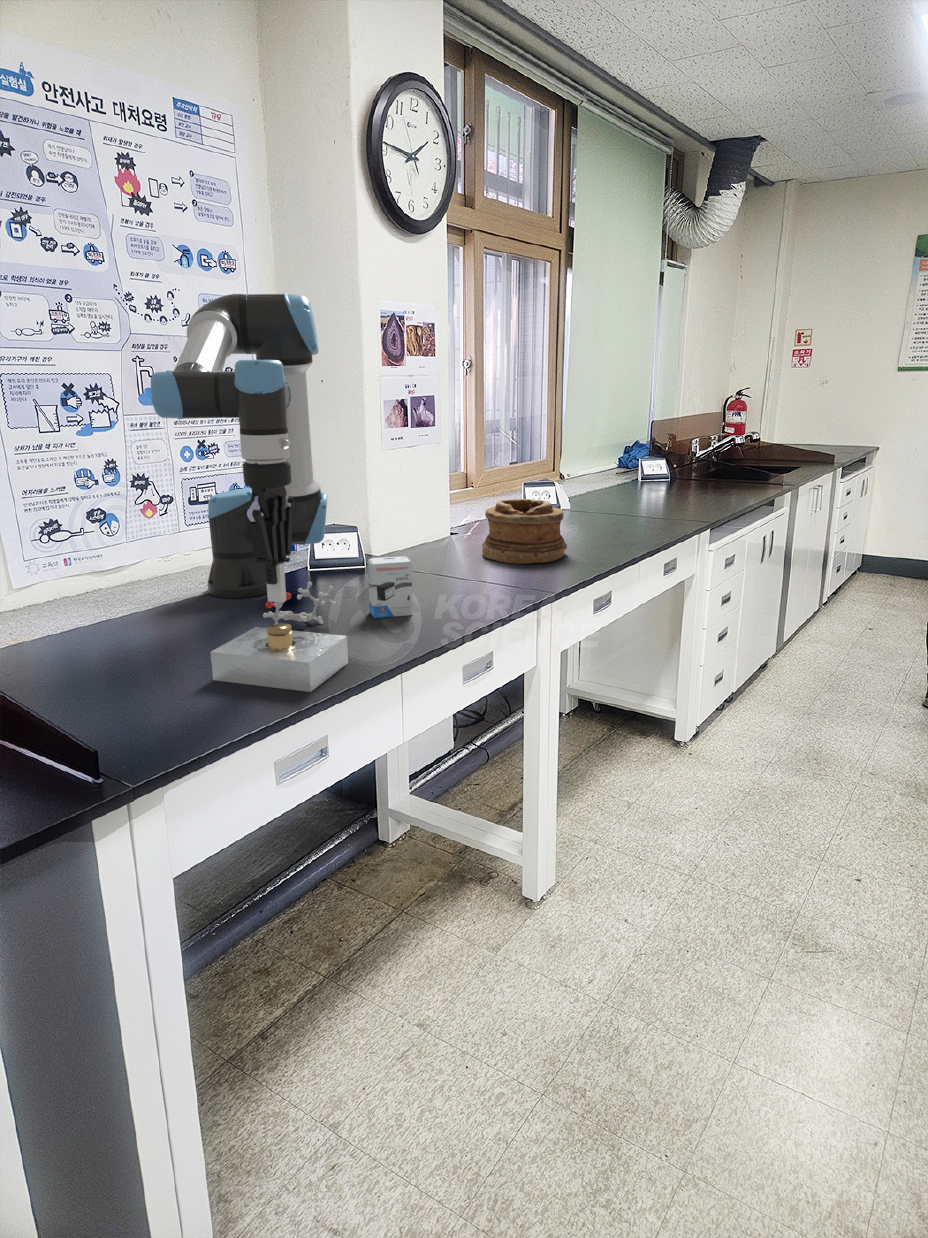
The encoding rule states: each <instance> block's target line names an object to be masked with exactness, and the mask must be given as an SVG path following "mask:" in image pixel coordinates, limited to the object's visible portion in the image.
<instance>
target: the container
mask: <svg viewBox="0 0 928 1238" xmlns="http://www.w3.org/2000/svg"><path fill="white" fill-rule="evenodd" d="M485 518H486V519H487V522H488V523H487V524H488V529H489V530H488V534H487V535H486V537H485V538H484V539H485V540H484V541H483V542H482V543H481V547H482V549H481V550H482V551H481V552H482V555H483V557H484V558H487V559H489V560H494V561H496V562H501V563H507V564H515V565H529V564H542V563H543V564H544V563H546V564H547V563H551V562H554V561H557V560H559V559H561V558H563V557H564V554H565V550H567V548H568V544H567V543H566V542H565V539H564V537H563V536H562V535H561V522H562V521H563V519H564V510H563V509H561V508H558V507H556V506H553V505H552V503H551V502H550V501H546V500H541V499H540V500H539V499H530V498H511V499H502V500H500V501H497V502H496V504H495V506H492V507H489V508H486V510H485Z"/></svg>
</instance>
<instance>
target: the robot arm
mask: <svg viewBox="0 0 928 1238" xmlns="http://www.w3.org/2000/svg"><path fill="white" fill-rule="evenodd" d="M186 339H187V340H186V342H185V344H184V347H183V349H182V351H181V354H180V356H179V359H178V360H177V363H176V364H175V368H174V369H173V370H166V371H156V372H154V373H152V376H151V379H150V396H151V402H152V406H153V410H154V412H155V414H157V416H158V417H160V418H162V419H177V420H183V419H188V420H189V419H221V418H223V419H226V418H227V419H228V418H229V419H237V418H238V422H239V442H240V455H241V457H240V458H241V459H243V460H245V461H244V462H243V464H242V472H243V473H242V474H243V476H242V477H243V483H244V485H245V486H247V487H246V488H245V487H244V488H238V489H233V490H227V491H223V492H219V493H216V494H214V495H212V496H211V497H210V498H209V499H208V503H207V508H208V509H207V510H208V512H207V513H208V515H207V519H208V522H209V523H208V524H209V525H208V526H209V531H210V533H209V534H210V542H211V552H212V562H211V566H210V570H209V576H208V579H207V593H208V594H209V595H211V596H213V597H218V598H224V599H240V598H242V599H243V598H250V597H252V598H253V597H257V596H263V595H265V594H267V601H271V602H272V603H275V602H281V603H282V602H284V601H285V602H286V601H287V600H286V593H287V591H286V590H287V589H286V587H287V586H286V575H285V563H289V562H290V561H291V557H287V556H291V554H292V546H293V545H296V546H297V545H302V546H306V545H311V544H319V543H321V542H322V541H323V540H324V538H325V534H326V533H325V531H326V518H327V504H328V494H327V493H326V492H323V491H322V490H321V485H320V484H319V483H318V482H317V481H316V480H315V479H314V472H313V469H314V468H313V455H312V441H311V440H312V439H311V428H310V427H311V425H310V413H309V412H310V411H309V399H308V383H307V370H308V369H309V368H310V367H311V366H312V364H313V363H314V361H313V355H314V356H315V355H317V354H319V352H320V351H319V343H318V336H317V329H316V323H315V317H314V314H313V310H312V306H311V302H310V301H309V299H308V298H307V296H304V295H299V294H289V293H260V294H259V293H256V294H255V293H254V294H253V293H251V294H249V293H247V294H246V293H244V294H243V293H232V294H226V295H223V296H220V297H217V298H215V299H213V300H211V301H209V302H207V303H206V304H204V305H202V306H201V307H200V308H198V309H197V310H196V311H195V312H194V314H193V315H192V316H191V318H190V319H189V321H188V323H187V327H186ZM242 354H243V355H244V354H245V355H255V357H256V359H239V360H237V361H236V362H235V364H234V371H230V370H229V371H224V367H225V364H226V360H227V359H228V358H229V357H230V356H231V355H242ZM321 491H322V492H321ZM285 602H284V603H285Z"/></svg>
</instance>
